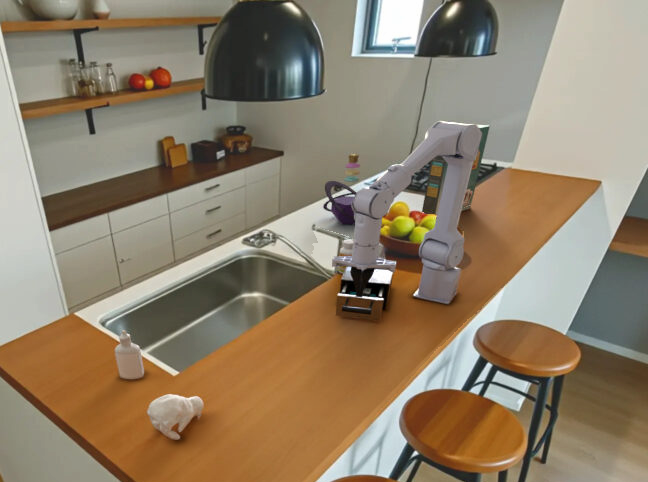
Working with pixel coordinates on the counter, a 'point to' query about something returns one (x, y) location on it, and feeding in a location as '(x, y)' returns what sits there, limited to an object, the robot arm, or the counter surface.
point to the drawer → (360, 303)
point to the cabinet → (373, 282)
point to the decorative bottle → (343, 202)
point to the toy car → (365, 293)
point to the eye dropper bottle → (128, 358)
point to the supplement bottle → (345, 252)
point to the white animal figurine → (174, 413)
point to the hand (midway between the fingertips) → (359, 295)
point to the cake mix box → (439, 173)
